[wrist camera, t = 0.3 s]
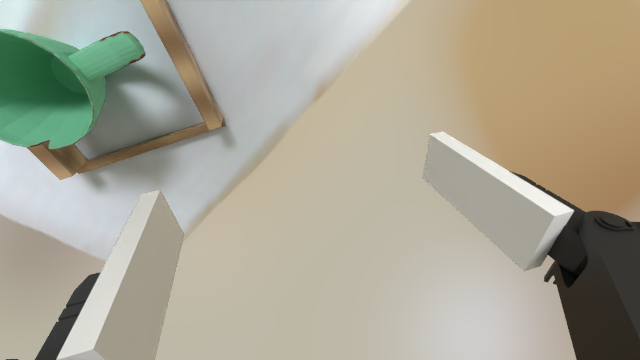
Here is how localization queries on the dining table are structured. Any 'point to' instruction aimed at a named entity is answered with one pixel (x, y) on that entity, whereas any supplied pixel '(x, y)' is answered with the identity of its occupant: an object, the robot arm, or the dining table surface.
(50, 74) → the mug
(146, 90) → the dining table surface
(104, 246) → the dining table surface
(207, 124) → the oak frame
